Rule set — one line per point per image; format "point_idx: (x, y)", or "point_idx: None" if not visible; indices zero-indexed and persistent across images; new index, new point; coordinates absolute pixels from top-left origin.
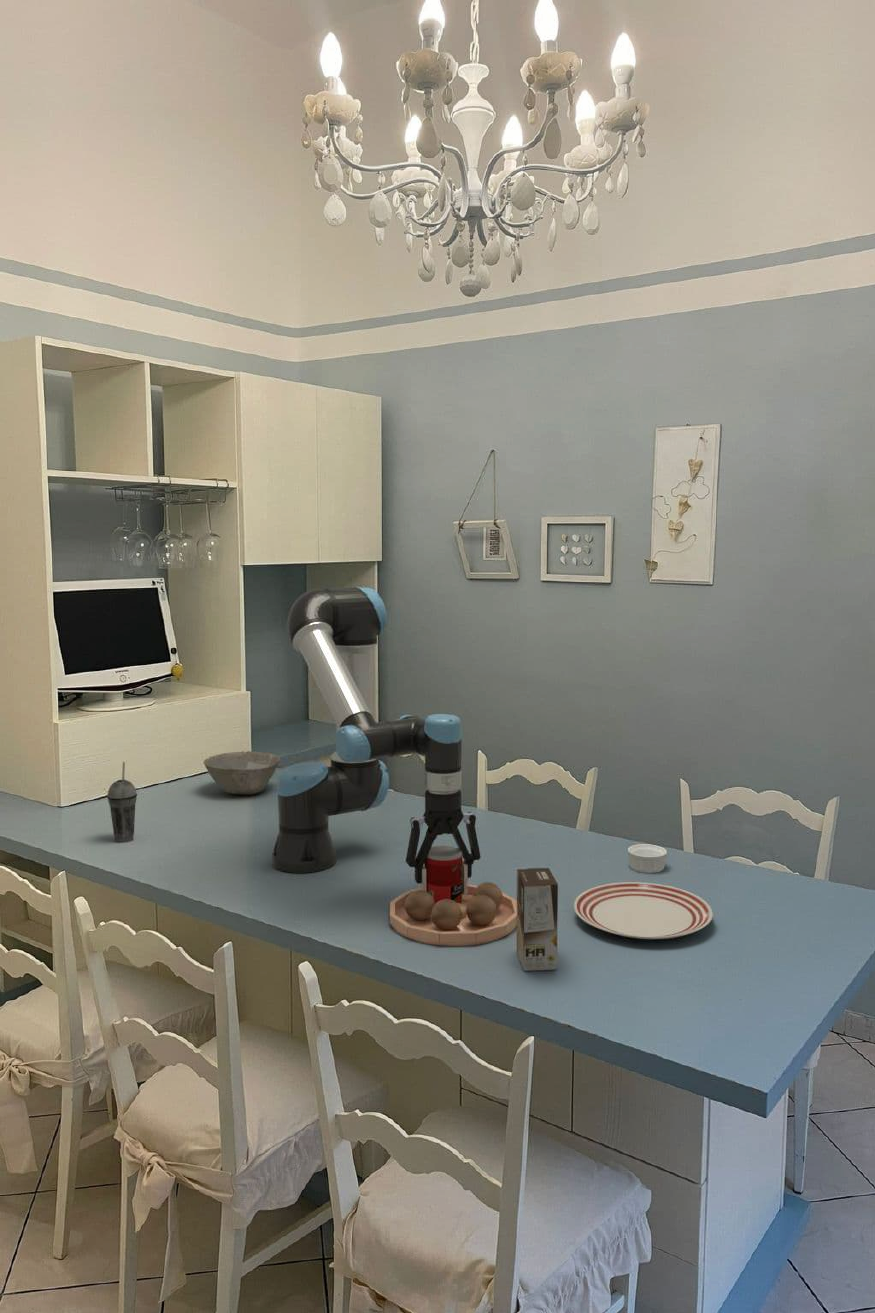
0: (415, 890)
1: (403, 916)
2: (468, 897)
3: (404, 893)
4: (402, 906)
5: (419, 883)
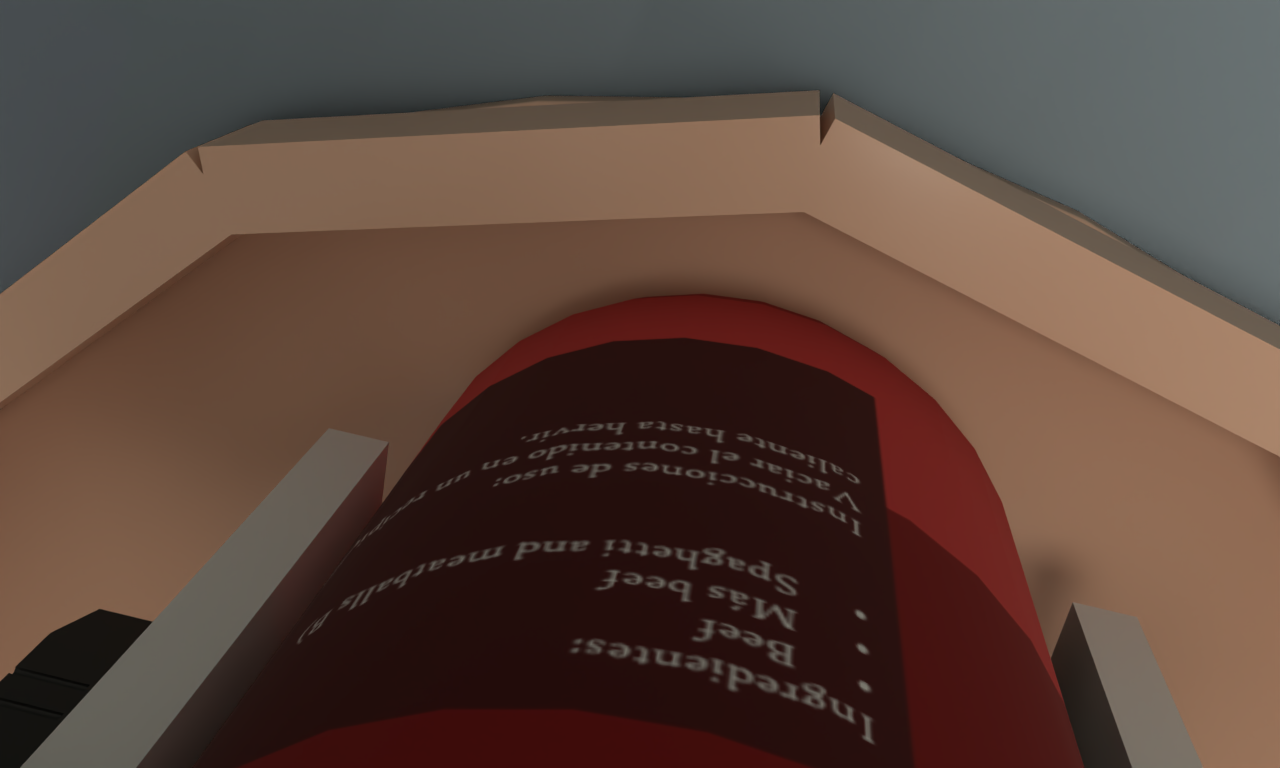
0: (342, 209)
1: (17, 660)
2: (1179, 585)
3: (110, 240)
4: (94, 370)
5: (229, 551)
